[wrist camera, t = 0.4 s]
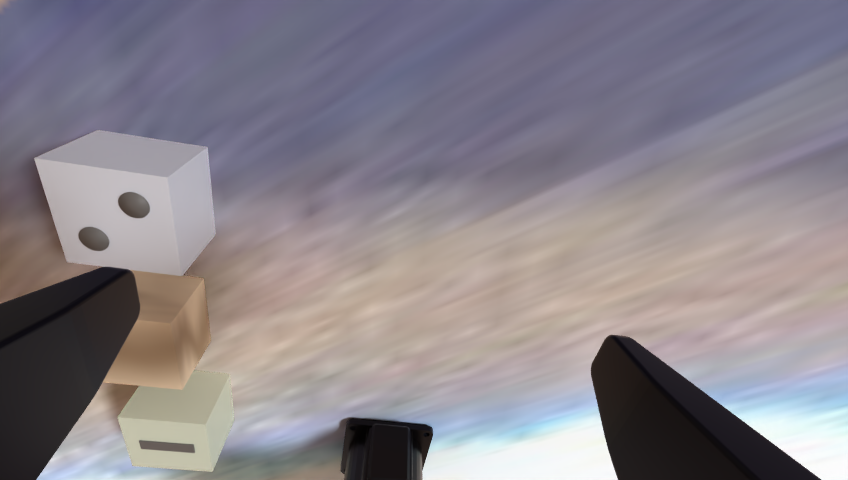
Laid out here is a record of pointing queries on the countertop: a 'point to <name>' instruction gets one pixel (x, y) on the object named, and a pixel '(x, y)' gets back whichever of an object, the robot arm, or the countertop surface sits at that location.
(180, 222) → the white die
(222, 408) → the sage block one
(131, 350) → the birch block
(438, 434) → the countertop surface
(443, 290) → the countertop surface
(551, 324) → the countertop surface
